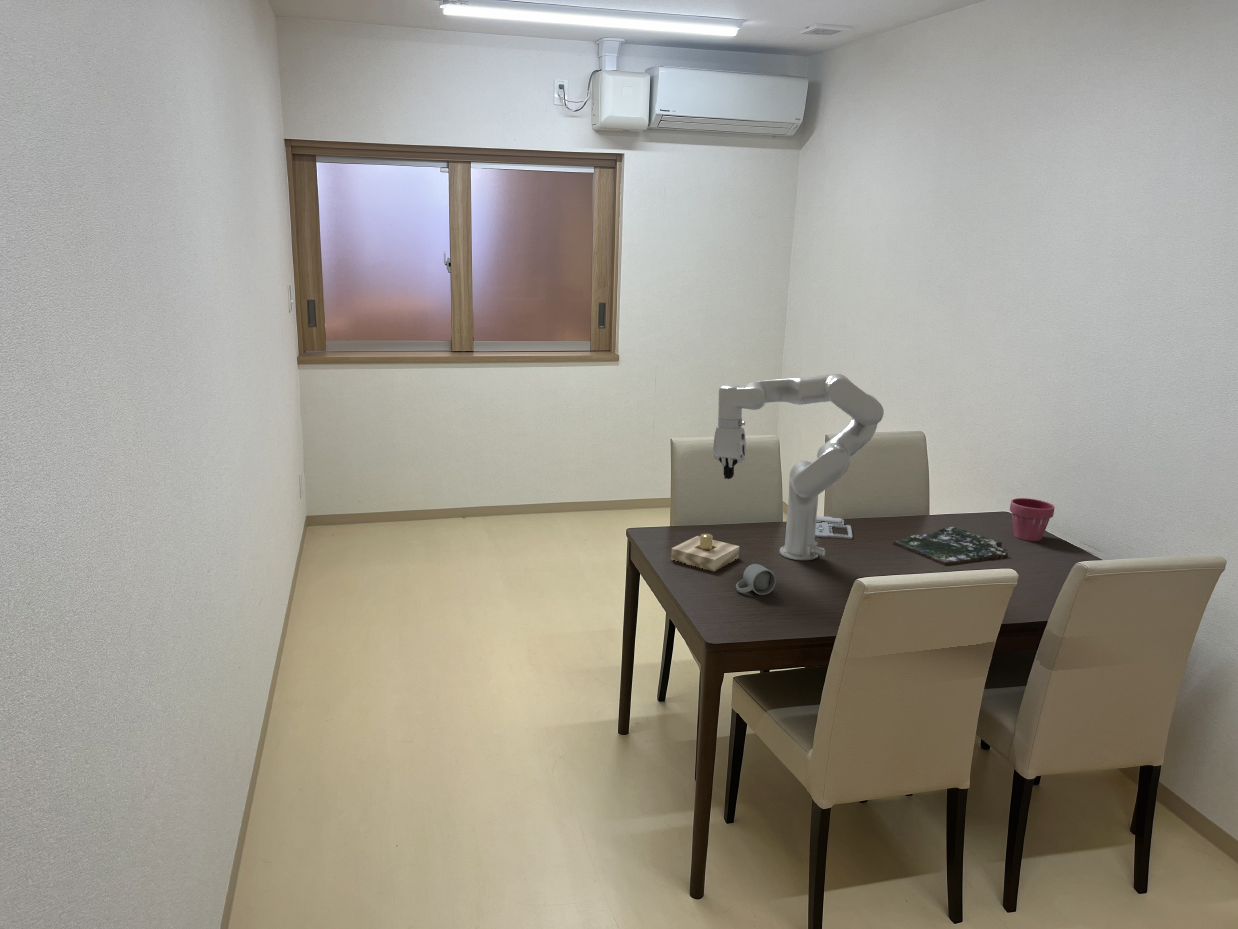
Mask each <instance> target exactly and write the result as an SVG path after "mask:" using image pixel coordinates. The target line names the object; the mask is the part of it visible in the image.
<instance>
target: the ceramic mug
mask: <svg viewBox="0 0 1238 929" xmlns="http://www.w3.org/2000/svg"><path fill="white" fill-rule="evenodd" d="M742 574H743V575H742V576H743V578H742V579H740V580H739V581H738V582H736V584H735V588H736V591H737V592H738V593H740V594H744V593H745V594H746V593H748V592H751V591H753V592H754V593H755V594H758V595H759V596H764V595H768V594H771V592H772V591H773V590H774V589H775V587H776V583H777V579H776V578H777V577H776V575H775V574H774V572H773V571H772V570H770V569H768V568H766V567H765V566H763V565H761V564H759V563H752V564H749V565H748V566H747V567H746V568H745V569H744V571H743V573H742ZM745 584H746V585H747V586H746V587H742V588H741V586H743V585H745Z"/></svg>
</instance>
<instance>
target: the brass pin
mask: <svg viewBox="0 0 1238 929" xmlns="http://www.w3.org/2000/svg"><path fill="white" fill-rule="evenodd" d="M699 536H700V549H701V550H705V551H711V550H712V541H713V540H714V539H713V537H714V536H713V535H712V534H710V533H702V534H701V533H700V535H699Z"/></svg>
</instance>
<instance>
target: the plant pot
mask: <svg viewBox="0 0 1238 929" xmlns="http://www.w3.org/2000/svg"><path fill="white" fill-rule="evenodd" d="M1009 512H1010V513H1011V516H1012V517H1011V518H1012V528H1013V536H1014V537H1015V538H1017V539H1020V540H1023V541H1028V542H1038V541H1039V542H1040V541H1041V540H1042V538H1043V536H1044V534H1045V532H1046V530H1047V526H1048V525H1049V522H1050V519H1052V518H1053V517H1054V514H1055V506H1054V504H1052V503H1050V502H1048V501H1044V500H1039V499H1036V498H1027V497H1026V498H1025V497H1018V498H1014V499H1011V501H1010V504H1009Z"/></svg>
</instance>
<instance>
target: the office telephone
mask: <svg viewBox="0 0 1238 929" xmlns="http://www.w3.org/2000/svg"><path fill="white" fill-rule="evenodd" d="M821 521H825V522H822V523H816V529H815V538H820V537H821V538H822V539H823V538H824V539H825V538H826V539H827V538H833V539H845V540H853V532H852V527H851V525H849V524H845V520H844V519H842V517H837V516H836V517H835V516H822V515H817V518H816V522H821ZM828 523H829V524H828ZM834 527H835V528H836V529H846V530H847V534H841V533H833V528H834Z"/></svg>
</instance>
